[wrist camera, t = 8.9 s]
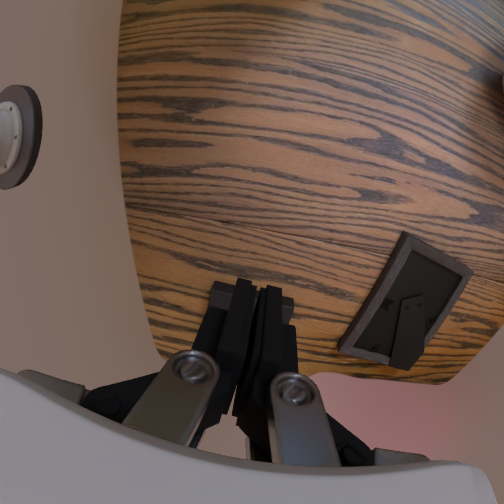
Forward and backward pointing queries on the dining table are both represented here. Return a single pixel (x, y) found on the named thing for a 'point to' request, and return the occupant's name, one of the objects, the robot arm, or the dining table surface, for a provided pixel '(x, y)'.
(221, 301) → the switch block
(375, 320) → the picture frame
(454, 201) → the dining table surface
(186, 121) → the dining table surface
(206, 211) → the dining table surface
